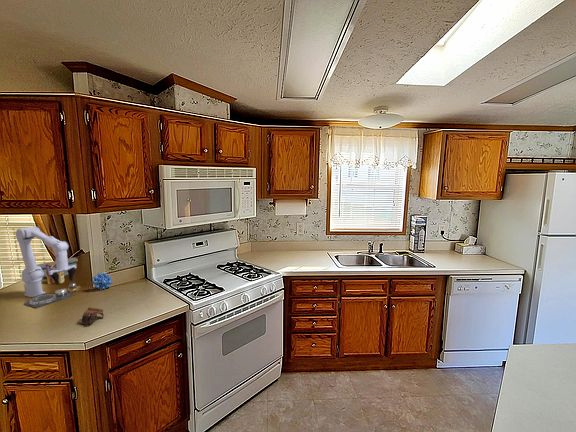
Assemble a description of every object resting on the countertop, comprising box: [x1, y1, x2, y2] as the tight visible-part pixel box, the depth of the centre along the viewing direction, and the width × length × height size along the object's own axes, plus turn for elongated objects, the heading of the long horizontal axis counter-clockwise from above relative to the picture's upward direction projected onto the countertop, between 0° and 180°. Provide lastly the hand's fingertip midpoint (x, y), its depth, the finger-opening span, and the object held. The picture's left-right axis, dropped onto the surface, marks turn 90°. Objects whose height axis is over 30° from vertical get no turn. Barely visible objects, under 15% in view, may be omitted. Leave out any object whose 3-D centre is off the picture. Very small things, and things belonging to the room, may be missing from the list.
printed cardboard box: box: [36, 257, 79, 278], centre depth 223 cm, size 25×8×11 cm, turn 143°
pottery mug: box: [80, 307, 105, 326], centre depth 151 cm, size 12×10×8 cm
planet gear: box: [66, 282, 82, 293], centre depth 194 cm, size 8×8×4 cm
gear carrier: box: [23, 287, 75, 309], centre depth 178 cm, size 13×20×4 cm, turn 157°
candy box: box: [45, 261, 65, 285], centre depth 207 cm, size 9×4×15 cm, turn 99°
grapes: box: [91, 272, 113, 291], centre depth 193 cm, size 12×7×12 cm, turn 139°
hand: (64, 282), depth 181 cm, fingers open, 7 cm apart
